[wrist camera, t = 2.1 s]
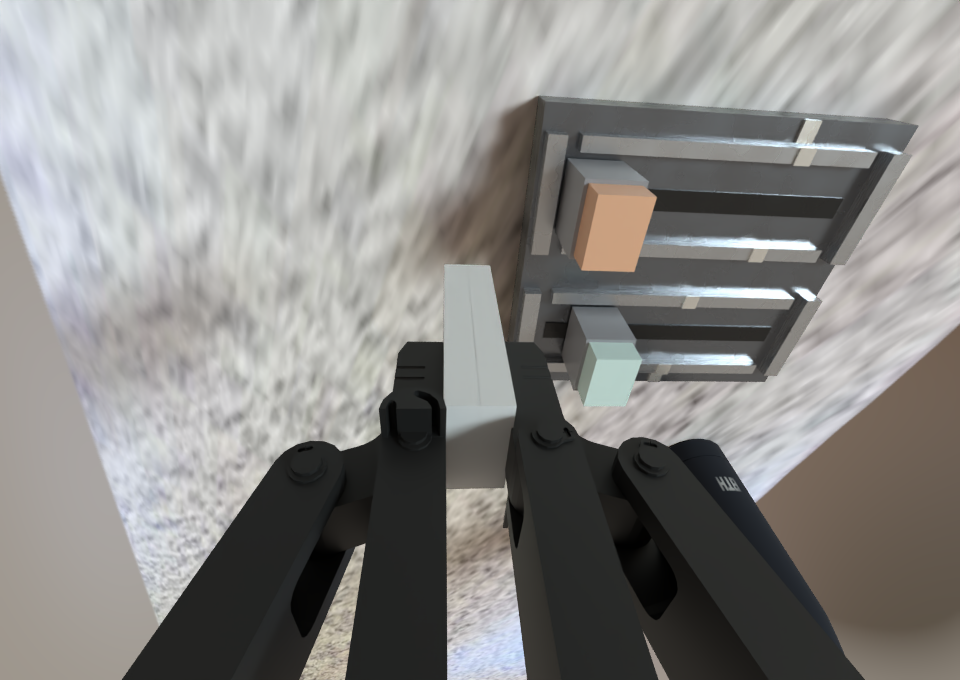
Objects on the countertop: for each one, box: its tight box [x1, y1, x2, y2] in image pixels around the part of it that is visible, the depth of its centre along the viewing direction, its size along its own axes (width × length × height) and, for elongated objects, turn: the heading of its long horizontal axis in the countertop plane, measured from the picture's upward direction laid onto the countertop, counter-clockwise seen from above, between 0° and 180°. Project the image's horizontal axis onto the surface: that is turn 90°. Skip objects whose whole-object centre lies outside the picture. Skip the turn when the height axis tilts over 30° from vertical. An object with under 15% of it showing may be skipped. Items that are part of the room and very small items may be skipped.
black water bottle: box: [670, 439, 844, 654], centre depth 30 cm, size 6×6×30 cm
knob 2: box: [562, 307, 642, 406], centre depth 27 cm, size 4×3×5 cm
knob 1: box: [555, 158, 657, 272], centre depth 22 cm, size 4×3×5 cm
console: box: [508, 96, 918, 382], centre depth 28 cm, size 18×20×3 cm
